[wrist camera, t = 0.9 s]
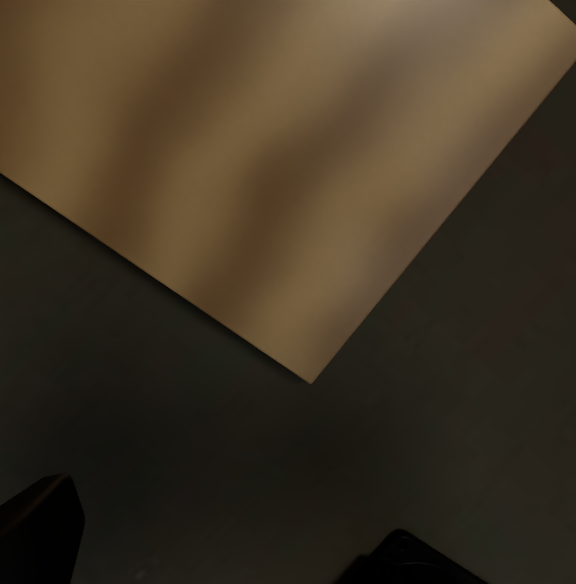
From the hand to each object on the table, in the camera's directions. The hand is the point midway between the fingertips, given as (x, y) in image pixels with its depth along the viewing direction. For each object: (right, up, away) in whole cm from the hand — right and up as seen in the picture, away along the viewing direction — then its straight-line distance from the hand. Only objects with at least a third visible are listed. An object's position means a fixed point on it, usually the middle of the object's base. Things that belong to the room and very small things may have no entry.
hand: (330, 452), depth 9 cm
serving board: (-3, +11, +10) cm, 16 cm away
